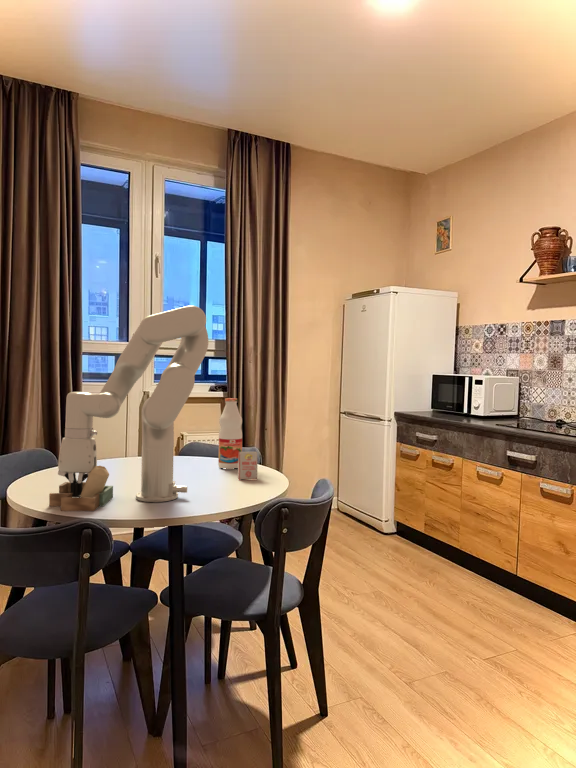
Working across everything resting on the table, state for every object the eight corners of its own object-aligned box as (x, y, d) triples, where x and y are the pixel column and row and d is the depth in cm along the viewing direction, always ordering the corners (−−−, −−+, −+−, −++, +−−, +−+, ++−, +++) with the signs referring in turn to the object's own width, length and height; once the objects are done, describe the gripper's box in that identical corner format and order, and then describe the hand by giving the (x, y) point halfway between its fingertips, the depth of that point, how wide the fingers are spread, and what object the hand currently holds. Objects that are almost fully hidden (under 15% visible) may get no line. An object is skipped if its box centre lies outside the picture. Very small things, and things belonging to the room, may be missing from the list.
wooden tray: (117, 493, 171) (117, 482, 171) (97, 510, 150) (97, 498, 150) (65, 493, 170) (65, 481, 170) (38, 510, 150) (38, 498, 149)
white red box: (237, 478, 199) (238, 451, 198) (256, 477, 200) (256, 450, 200) (238, 480, 195) (239, 452, 195) (257, 479, 196) (257, 452, 196)
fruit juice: (240, 465, 224) (241, 397, 223) (242, 469, 215) (244, 399, 214) (217, 465, 223) (218, 397, 222) (218, 470, 213) (220, 399, 213)
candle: (96, 504, 158) (109, 472, 158) (78, 498, 157) (91, 466, 157) (100, 498, 164) (112, 468, 163) (82, 492, 163) (94, 461, 162)
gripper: (107, 433, 164) (105, 493, 164) (57, 431, 163) (54, 491, 163) (100, 436, 156) (98, 499, 157) (47, 434, 155) (45, 497, 156)
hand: (76, 495), depth 160 cm, fingers closed
